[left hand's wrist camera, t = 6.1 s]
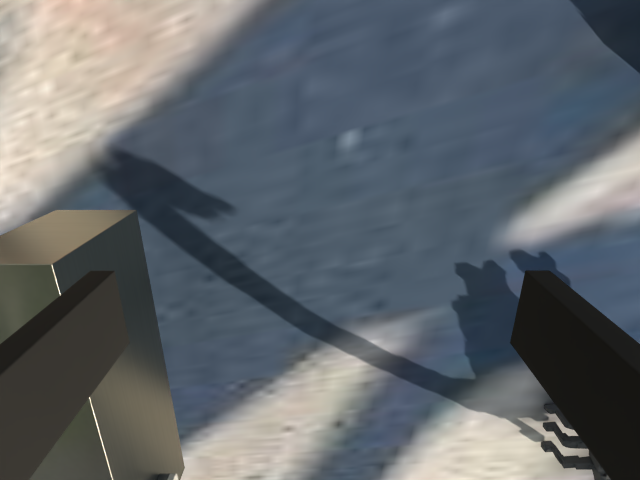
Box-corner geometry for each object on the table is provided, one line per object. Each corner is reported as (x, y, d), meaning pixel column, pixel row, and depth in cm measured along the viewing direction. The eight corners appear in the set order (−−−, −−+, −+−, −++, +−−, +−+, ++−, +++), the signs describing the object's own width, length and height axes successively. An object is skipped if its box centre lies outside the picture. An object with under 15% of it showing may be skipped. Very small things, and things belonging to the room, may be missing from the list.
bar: (55, 210, 29) (-64, 264, 20) (136, 209, 29) (51, 264, 20) (123, 466, 38) (62, 579, 30) (184, 467, 38) (141, 581, 29)
